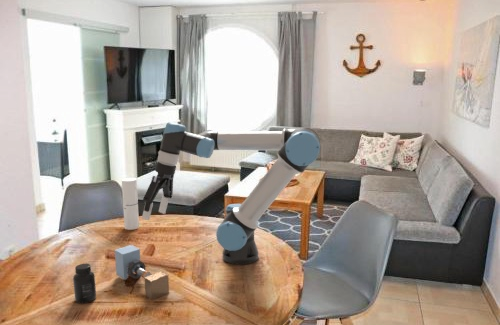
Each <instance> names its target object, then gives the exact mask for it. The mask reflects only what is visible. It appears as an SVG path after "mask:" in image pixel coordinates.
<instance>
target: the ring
mask: <svg viewBox="0 0 500 325" xmlns="http://www.w3.org/2000/svg"><path fill="white" fill-rule="evenodd" d="M138 264H140V268H142V269H144V270H146V264H145V263H144V262H142V260H140V261H139V260H135V261H132V262H131V263H130V265H129V266H128V268H127V271H128V277H131V278H133V279H139V278H142V277H141V276H140V275H138V274H135V273H134V272H133V271H132V270H133V268H134V267H135V265H138Z"/></svg>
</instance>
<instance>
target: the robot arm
mask: <svg viewBox="0 0 500 325" xmlns="http://www.w3.org/2000/svg"><path fill="white" fill-rule="evenodd" d="M186 129H187V126H185V125H184V124H181V123H176V122H173V121H168V122H167V123H166V124H165V126H164V130H163V133H162V139H161V143H160V148H159V151H157V154H158V156H157V161H156V163H155V167H154V171H155V172H156V173H157V175H152V177H151V181H150V184H149V185H148V187H147V190H146V192H145V194H144V197H143V198H142V201H143V202H144V204H145V205H144V206H143V207H144V208H143V212H142V215H141V216H142V217H141V219H143V220H146V221H150V218H151V215H152V209H153V206H154V203H153V202H154V200H155V199H156V197H157V195H158V194H159V191H160V190H162V194H163V195H162V197H161V200H160V204H159V208H158V213H160V214H163V215H166V212H167V208H168V206H169V205H168V203H169V201H170V200H169V199H172V197H173V194H174V178H175V173H176V169H177V166H176V165H178V162H179V157H180V153H181V152H184V153H187V154H190V155H193V156H197V157H199V158H204V159H210V158H211V157H212V155H213V153H214V151H278V152H276V154H277V159H276V160H275V162H274V163H273V164H272V166H271V167H270V168H269V170H268V171H267V172H266V173H265V174H264V176H262V178H261V179H260V181H259V182H258V183H257V184H256V186H254V188H253V190H251V192H250V193H249V195H248V196H247V197H246V198H245V200H243V202H242V203H229V204H228V205H226V208H225V217H224V219H223V220H222V221H221V223H220V224H219V225H218V227H217V230H216V234H215V236H216V240H217V243H218V244H219V246H221V248H223V251H222V260H223V261H224V262H226V263H229V264H231V265H237V266H238V265H249V264H252V263H254V262H255V263H256V261H257V260H258V259H259V251H258V247H257V244H256V240H255V231H256V230H257V228H259V226H258V225H259V224H258V221H259V219H260V218H261V217H262V216H263V215H264V213H266V211H267V210H268V209H269V208H270V206H271V205H272V204H273V203H274V202H275V200H276V199H277V198H278V197H279V195H280V194H281V193H282V192H283V191H284V189H285V188H286V187H287V186H288V185H289V183H290V182H291V181H292V180H293V178H294V177H295V176H296V175H297V174H303V173H304V172H305V170H306V169H307V168H308V167H309V166H310V165H311V164H313V163H314V162H315V161H316V160H317V158H318V157H319V156H320V151H321V139H320V137H319V135H318V133H317V132H316V131H315V130H314V129H312V128H309V127H306V126H305V127H295V128H283V129H282V130H281V131H280V130H278V131H277V130H276V131H274V130H273V131H271V130H270V131H267V130H266V131H265V130H264V131H259V130H258V131H257V130H256V131H255V130H253V131H252V130H250V131H249V130H246V131H245V130H244V131H243V130H242V131H240V130H239V131H238V130H236V131H234V130H233V131H228V130H226V131H224V130H223V131H221V130H220V131H214V130H212V129H211V130H210V129H208V130H203V131H201V132H200V133H197V134H196V133H192V132H188V131H187V130H186Z"/></svg>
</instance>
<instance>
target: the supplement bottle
mask: <svg viewBox="0 0 500 325" xmlns="http://www.w3.org/2000/svg"><path fill="white" fill-rule="evenodd" d="M74 268H75V270H74V271H75V274H74V275H73V277H72V281H73V291H74V293H73V294H74V300H75V302H76V303H78V304H87V303H90V302H93V301H95V299H96V297H97V289H96V280H95V276H96V275H95V273H94V272H93V271H92V269H91V264H89V263H80V264H77V265H76V266H75V267H74Z"/></svg>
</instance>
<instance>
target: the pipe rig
mask: <svg viewBox="0 0 500 325" xmlns="http://www.w3.org/2000/svg"><path fill="white" fill-rule="evenodd" d="M129 265H130V263H128V264H127V268H128V266H129ZM132 271H133V273H134V272H135V273H136V274H138V275H140V276H141V277H140V278H142V279H143V280H144V290H145V292H144V294H145V297H146V298H147V299H149V300H151V301H154V300H156V299H159V298H161V297H163V296H165V295H168V294H170V282H169V280H170V279H169V274H168V273H166V272H164V271H162V270H161V271H158V272H156V273H151V272H150V271H149V270H146V269H145V270H144V269H142V268H140V267H139V266H137V265H135V267H134V268H133V270H132ZM135 273H134V274H135Z"/></svg>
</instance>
